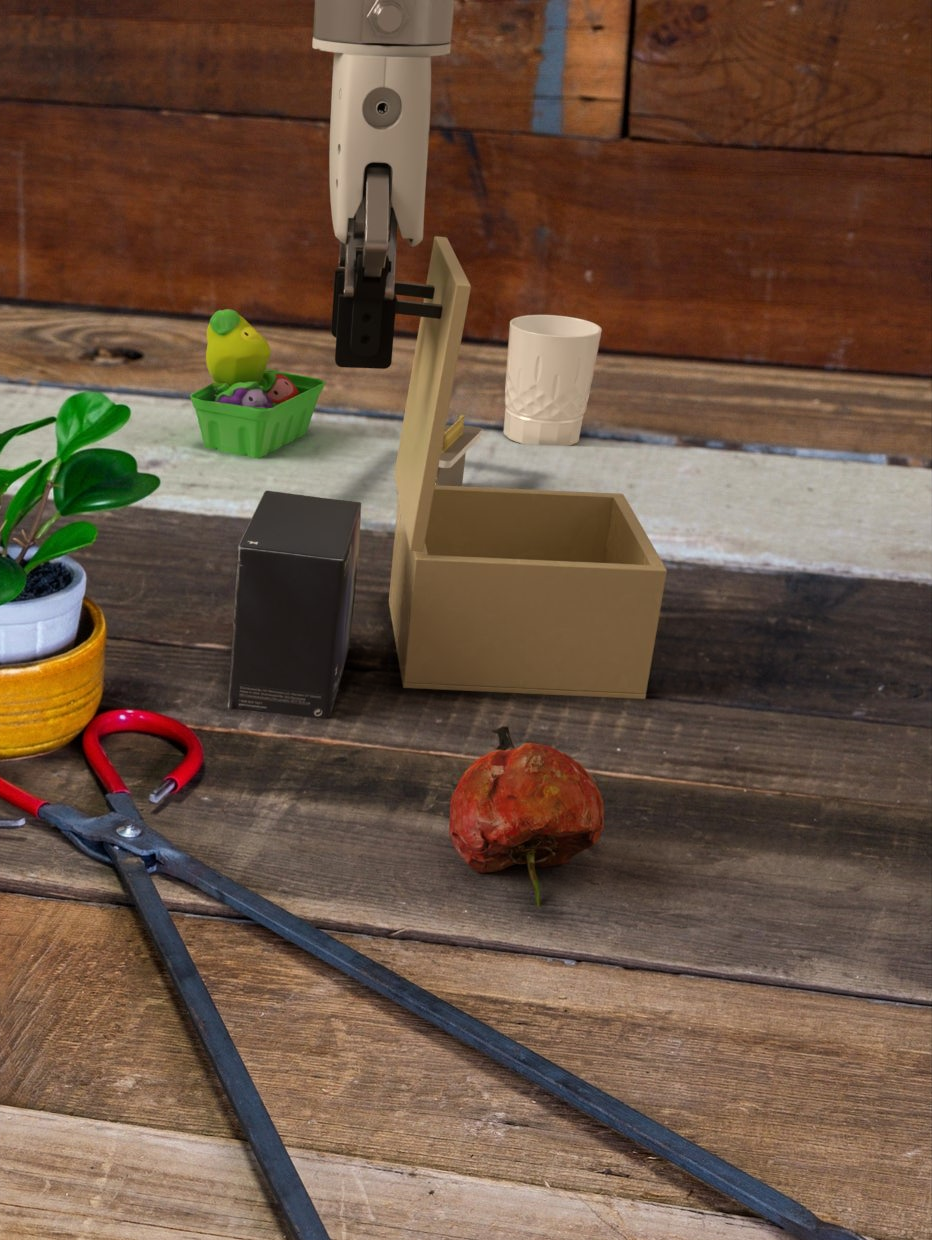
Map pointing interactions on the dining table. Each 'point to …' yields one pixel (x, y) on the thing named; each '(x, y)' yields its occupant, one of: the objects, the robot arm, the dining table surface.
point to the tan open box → (527, 594)
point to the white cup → (548, 378)
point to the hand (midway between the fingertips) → (360, 348)
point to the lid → (429, 383)
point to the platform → (455, 452)
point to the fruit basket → (249, 392)
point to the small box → (293, 604)
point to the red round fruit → (524, 809)
